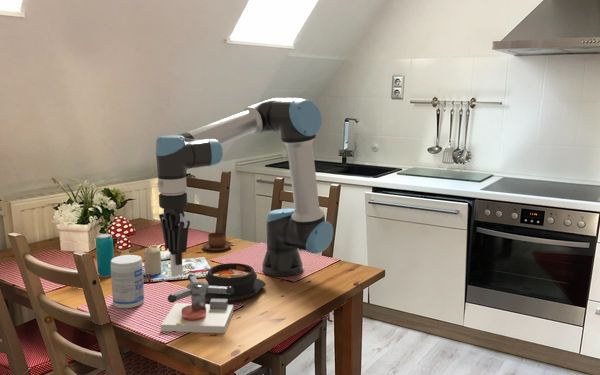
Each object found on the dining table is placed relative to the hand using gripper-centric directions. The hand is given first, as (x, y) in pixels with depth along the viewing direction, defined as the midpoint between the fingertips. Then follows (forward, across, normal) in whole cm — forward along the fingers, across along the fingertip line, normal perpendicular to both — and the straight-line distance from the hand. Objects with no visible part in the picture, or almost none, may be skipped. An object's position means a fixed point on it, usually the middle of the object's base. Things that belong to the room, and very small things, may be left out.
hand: (177, 274), depth 151 cm
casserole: (+17, -10, +25) cm, 32 cm away
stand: (+16, 0, +6) cm, 17 cm away
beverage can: (+16, -54, +1) cm, 57 cm away
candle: (+16, -46, +16) cm, 51 cm away
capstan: (+14, +1, +4) cm, 14 cm away
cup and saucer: (+17, -56, +50) cm, 77 cm away
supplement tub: (+16, -25, -4) cm, 30 cm away
